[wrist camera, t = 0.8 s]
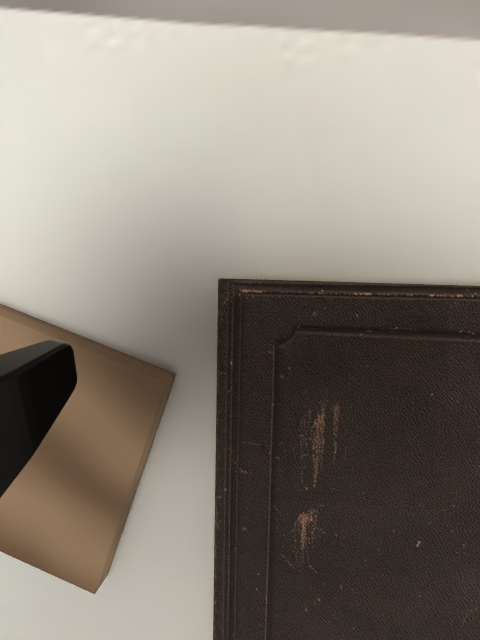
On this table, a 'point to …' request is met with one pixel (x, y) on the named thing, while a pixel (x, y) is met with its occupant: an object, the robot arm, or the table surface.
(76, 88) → the table surface
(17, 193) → the table surface
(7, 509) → the board
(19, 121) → the table surface
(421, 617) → the hardcover book
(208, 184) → the table surface
